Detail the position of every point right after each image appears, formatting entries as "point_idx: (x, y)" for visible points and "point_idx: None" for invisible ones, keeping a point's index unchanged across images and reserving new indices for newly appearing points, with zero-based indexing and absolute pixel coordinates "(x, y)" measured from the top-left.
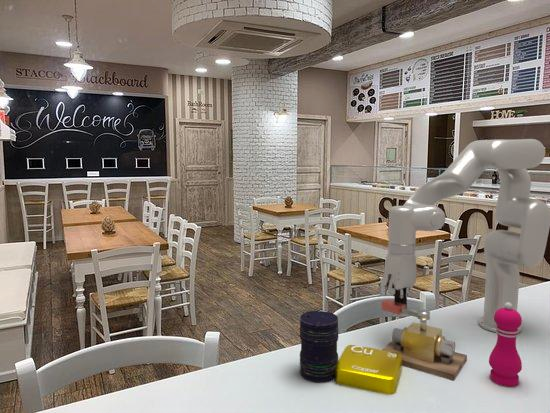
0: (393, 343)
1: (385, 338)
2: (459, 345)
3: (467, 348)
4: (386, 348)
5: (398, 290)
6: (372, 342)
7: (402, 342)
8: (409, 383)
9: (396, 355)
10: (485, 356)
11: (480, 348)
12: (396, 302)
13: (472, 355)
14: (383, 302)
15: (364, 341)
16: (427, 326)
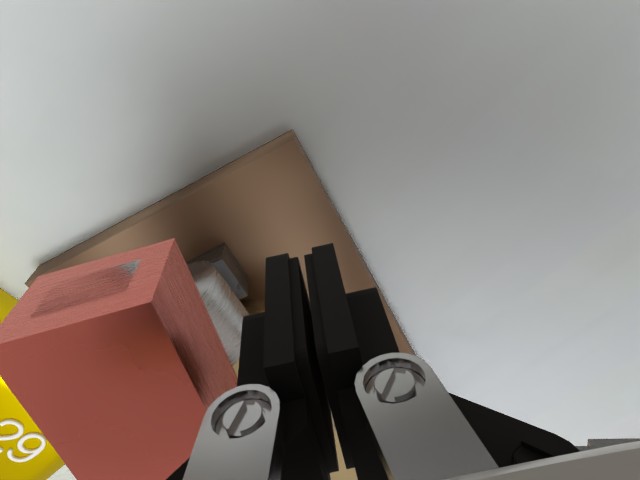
0: (205, 215)
1: (260, 45)
2: (574, 314)
3: (571, 350)
4: (114, 253)
5: (374, 427)
6: (120, 58)
7: None
8: (69, 476)
9: (45, 447)
10: (555, 424)
11: (619, 370)
12: (188, 447)
13: (519, 402)
14: (3, 368)
15: (64, 10)
16: (350, 478)
